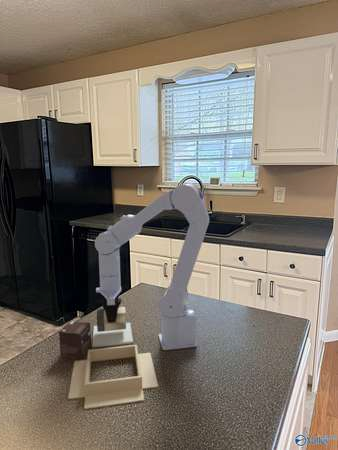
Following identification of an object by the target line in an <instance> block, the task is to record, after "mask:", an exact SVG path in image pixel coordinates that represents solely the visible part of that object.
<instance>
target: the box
mask: <svg viewBox="0 0 338 450" xmlns="http://www.w3.org/2000/svg"><path fill="white" fill-rule="evenodd" d="M58 337H59V338H58V340H59V352H60V358H62V359H70V360H78V361H81V360H84V358H85V357H86V355H88V350H91V349H92V333H91V323H90V322H82V321H81V322H80V321H74V320H73V321H72V320H71V321H68V323H67V324H65V325H64V326H63V328H61V330H59V331H58Z"/></svg>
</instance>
